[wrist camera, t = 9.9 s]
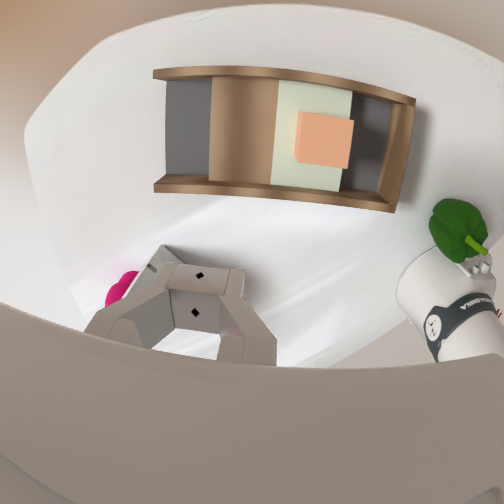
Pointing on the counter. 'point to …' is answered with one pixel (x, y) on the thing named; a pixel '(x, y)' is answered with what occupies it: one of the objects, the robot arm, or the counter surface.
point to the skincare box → (151, 269)
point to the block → (323, 140)
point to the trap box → (280, 136)
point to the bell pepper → (458, 230)
